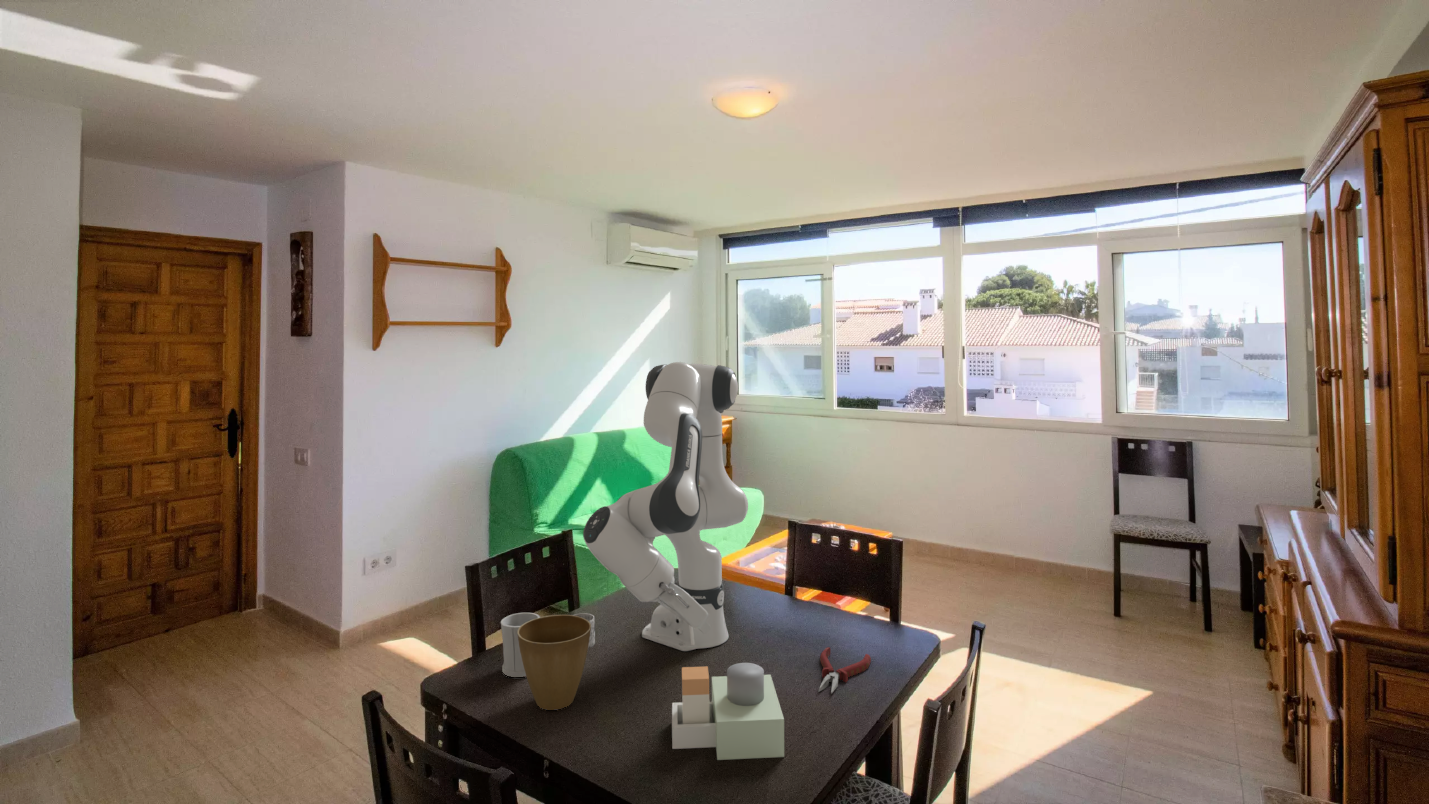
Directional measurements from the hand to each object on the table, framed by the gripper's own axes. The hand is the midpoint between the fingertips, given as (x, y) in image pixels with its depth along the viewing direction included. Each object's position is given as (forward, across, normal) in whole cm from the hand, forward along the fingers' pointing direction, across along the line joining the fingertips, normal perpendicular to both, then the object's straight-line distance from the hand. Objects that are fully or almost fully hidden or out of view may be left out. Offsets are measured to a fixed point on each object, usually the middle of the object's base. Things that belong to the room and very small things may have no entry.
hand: (695, 621), depth 131 cm
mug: (+8, +49, +20) cm, 53 cm away
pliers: (+40, +4, -14) cm, 42 cm away
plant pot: (0, +22, +30) cm, 37 cm away
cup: (-2, +39, +31) cm, 50 cm away
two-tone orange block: (+14, -3, +15) cm, 21 cm away
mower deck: (+17, -6, +11) cm, 21 cm away
